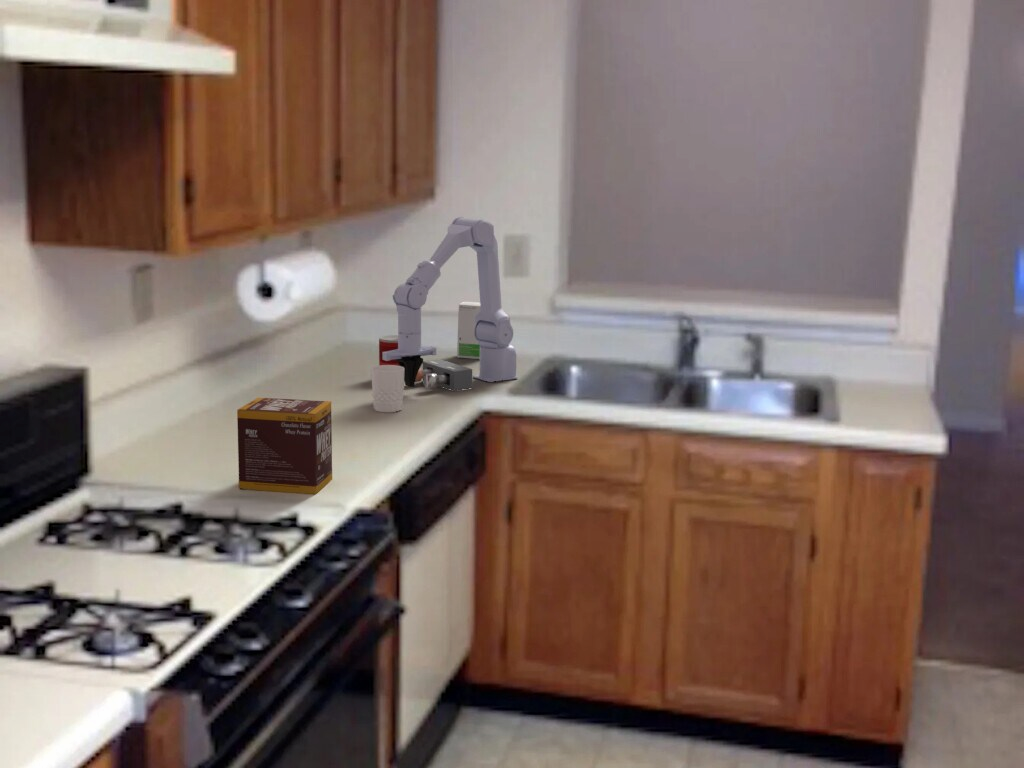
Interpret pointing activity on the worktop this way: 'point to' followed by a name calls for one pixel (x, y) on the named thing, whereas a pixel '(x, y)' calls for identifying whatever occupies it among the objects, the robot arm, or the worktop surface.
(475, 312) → the skincare box
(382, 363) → the canned food
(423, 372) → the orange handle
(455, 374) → the mount
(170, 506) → the worktop surface
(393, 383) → the white cup
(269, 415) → the supplement box
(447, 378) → the knob aluminium
